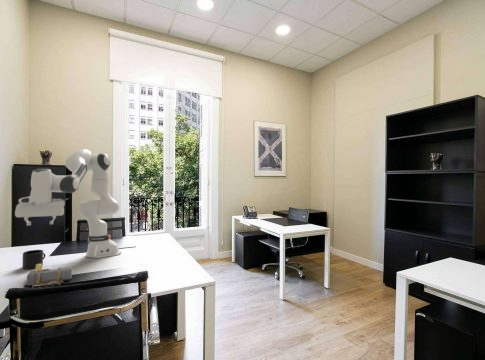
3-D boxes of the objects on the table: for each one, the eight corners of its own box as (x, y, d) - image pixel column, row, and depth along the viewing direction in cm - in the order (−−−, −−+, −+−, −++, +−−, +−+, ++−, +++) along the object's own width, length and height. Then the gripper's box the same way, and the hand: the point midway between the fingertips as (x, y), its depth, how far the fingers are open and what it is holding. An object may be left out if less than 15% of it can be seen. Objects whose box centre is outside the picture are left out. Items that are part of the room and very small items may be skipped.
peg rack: (64, 278, 134) (64, 267, 134) (62, 283, 128) (63, 271, 128) (35, 282, 128) (36, 270, 128) (32, 288, 121) (32, 275, 121)
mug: (50, 263, 156) (51, 249, 156) (30, 270, 144) (30, 254, 144) (39, 262, 158) (39, 248, 158) (18, 268, 147) (18, 253, 147)
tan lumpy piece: (49, 275, 137) (49, 268, 137) (47, 280, 131) (47, 272, 131) (30, 278, 133) (30, 270, 133) (27, 283, 127) (27, 275, 127)
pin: (42, 278, 134) (42, 263, 134) (41, 279, 132) (41, 264, 132) (36, 279, 133) (36, 264, 133) (35, 280, 130) (35, 265, 130)
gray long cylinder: (71, 276, 135) (72, 267, 135) (71, 279, 131) (71, 269, 131) (28, 282, 125) (29, 272, 125) (26, 285, 121) (26, 275, 121)
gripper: (65, 198, 140) (64, 222, 140) (17, 198, 130) (16, 225, 130) (64, 199, 135) (63, 224, 135) (14, 199, 124) (13, 227, 124)
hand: (40, 224), depth 132 cm, fingers open, 8 cm apart
